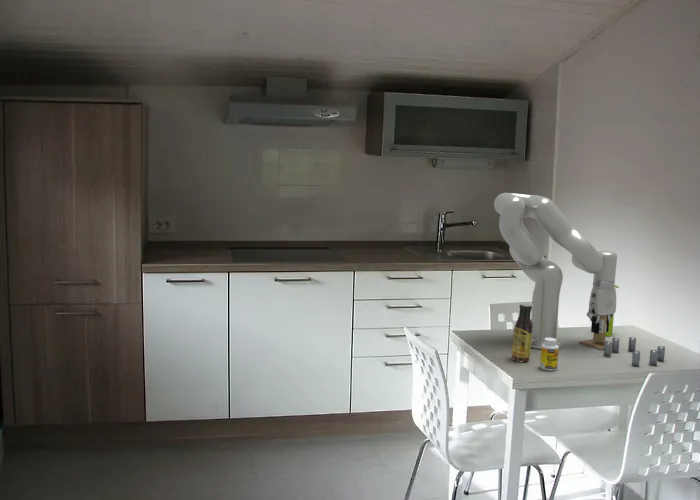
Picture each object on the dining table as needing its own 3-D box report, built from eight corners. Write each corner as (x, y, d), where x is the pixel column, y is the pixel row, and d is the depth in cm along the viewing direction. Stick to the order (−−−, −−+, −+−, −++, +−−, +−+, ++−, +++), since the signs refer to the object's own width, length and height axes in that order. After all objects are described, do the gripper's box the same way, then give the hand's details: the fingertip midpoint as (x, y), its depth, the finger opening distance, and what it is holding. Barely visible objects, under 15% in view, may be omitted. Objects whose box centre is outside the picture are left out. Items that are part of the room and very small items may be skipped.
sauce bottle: (507, 359, 243) (511, 303, 240) (519, 356, 247) (522, 301, 244) (522, 364, 238) (526, 307, 235) (534, 360, 242) (538, 305, 239)
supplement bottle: (544, 371, 231) (547, 341, 229) (536, 366, 236) (538, 337, 234) (560, 370, 232) (562, 341, 230) (551, 365, 237) (554, 336, 236)
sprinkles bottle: (607, 340, 262) (611, 305, 260) (600, 342, 259) (603, 307, 257) (597, 337, 266) (600, 303, 263) (589, 339, 263) (592, 304, 261)
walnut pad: (600, 350, 256) (600, 348, 256) (579, 342, 265) (579, 341, 265) (619, 346, 261) (619, 345, 261) (597, 339, 269) (597, 338, 269)
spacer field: (640, 369, 236) (642, 354, 235) (597, 353, 251) (598, 340, 251) (670, 362, 243) (671, 348, 242) (626, 348, 259) (627, 335, 258)
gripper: (595, 288, 252) (591, 337, 255) (627, 284, 260) (623, 331, 263) (579, 284, 258) (575, 331, 261) (611, 280, 266) (607, 327, 269)
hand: (599, 331), depth 262 cm, fingers closed on sprinkles bottle, 4 cm apart
